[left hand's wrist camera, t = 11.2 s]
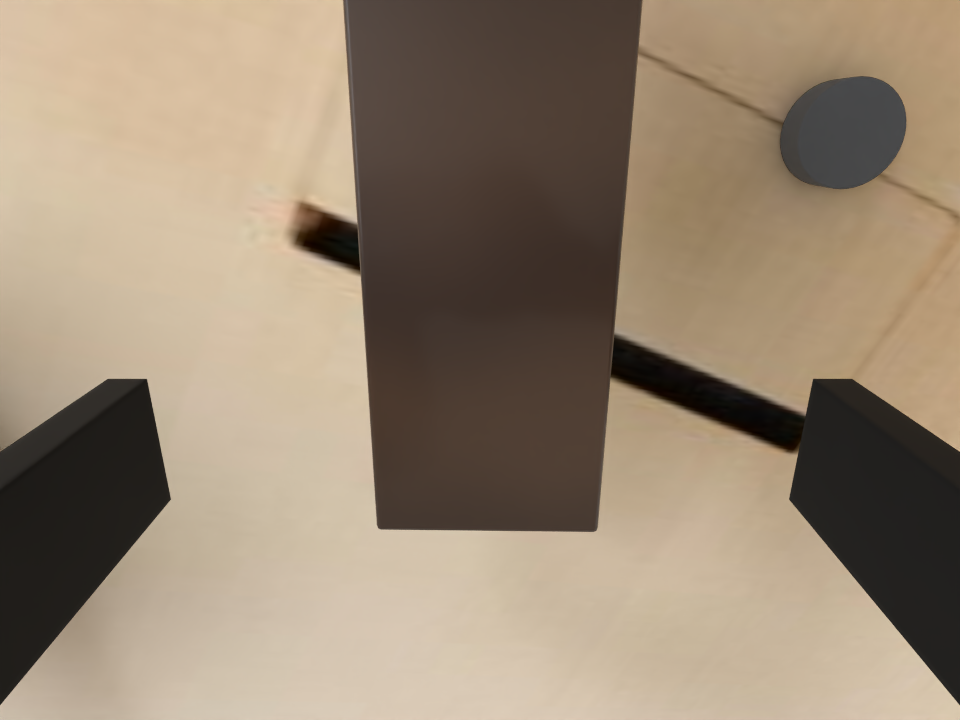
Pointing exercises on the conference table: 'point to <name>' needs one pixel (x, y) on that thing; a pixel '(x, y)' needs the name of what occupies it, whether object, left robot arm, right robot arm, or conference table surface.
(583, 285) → the bar
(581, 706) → the conference table surface
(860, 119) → the puck
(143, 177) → the conference table surface
